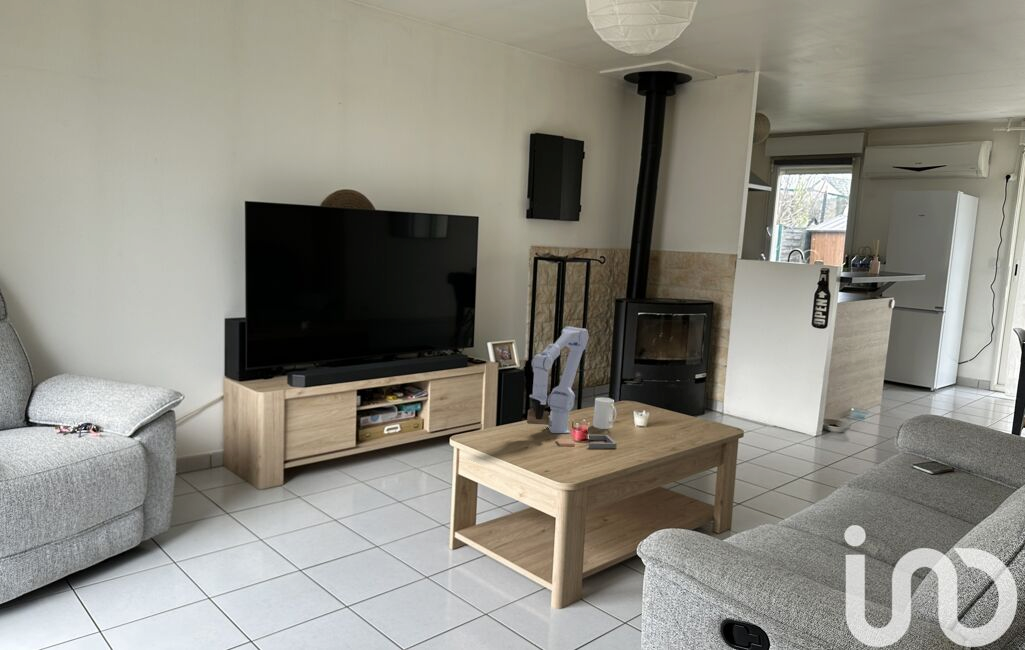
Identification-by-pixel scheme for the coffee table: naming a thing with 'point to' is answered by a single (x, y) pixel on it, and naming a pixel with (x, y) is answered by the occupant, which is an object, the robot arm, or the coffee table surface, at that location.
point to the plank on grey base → (545, 419)
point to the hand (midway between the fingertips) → (538, 418)
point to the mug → (604, 413)
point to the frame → (609, 443)
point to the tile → (565, 442)
